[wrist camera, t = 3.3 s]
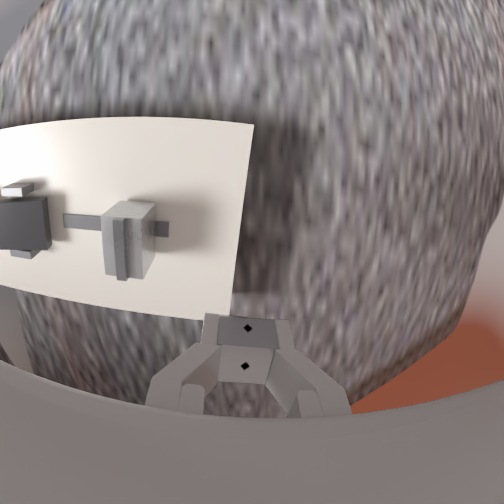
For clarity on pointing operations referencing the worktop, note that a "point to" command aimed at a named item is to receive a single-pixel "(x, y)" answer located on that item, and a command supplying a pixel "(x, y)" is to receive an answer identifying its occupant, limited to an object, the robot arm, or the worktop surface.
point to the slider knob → (128, 239)
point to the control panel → (131, 189)
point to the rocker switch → (25, 224)
